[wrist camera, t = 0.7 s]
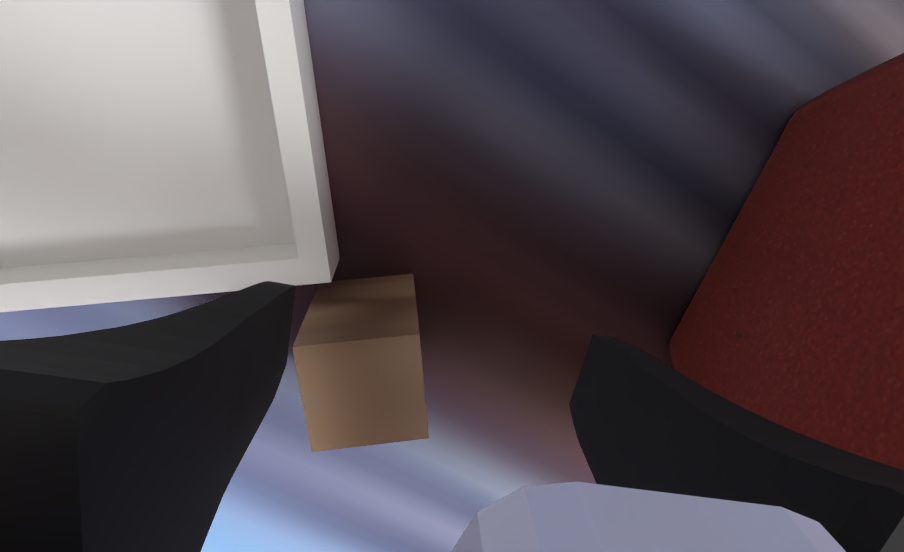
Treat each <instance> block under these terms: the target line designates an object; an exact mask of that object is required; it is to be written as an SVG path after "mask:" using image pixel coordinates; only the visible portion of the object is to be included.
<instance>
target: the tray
mask: <svg viewBox="0 0 904 552" xmlns="http://www.w3.org/2000/svg"><path fill="white" fill-rule="evenodd" d="M339 259H340V255H339V248H338V241H337V234H336V227H335V220H334V213H333V205H332V198H331V191H330V184H329V177H328V170H327V163H326V156H325V149H324V142H323V135H322V128H321V120H320V113H319V106H318V99H317V92H316V85H315V78H314V71H313V64H312V57H311V50H310V42H309V35H308V28H307V21H306V14H305V7H304V0H0V312H10V311H21V310H32V309H43V308H54V307H65V306H76V305H87V304H98V303H109V302H120V301H131V300H142V299H153V298H164V297H175V296H186V295H197V294H208V293H219V292H230V291H239V290H242V289H244V288H247V287H250V286H252V285H255V284H258V283H261V282H265V281H271V282H277V283H283V284H289V285H295V286H296V285H307V284H318V283H329V282H332V279H333V276H334V273H335V270H336V268H337V265H338V262H339Z"/></svg>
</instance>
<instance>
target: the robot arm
mask: <svg viewBox="0 0 904 552" xmlns="http://www.w3.org/2000/svg"><path fill="white" fill-rule="evenodd" d="M294 291H295V285H289V284H283V283H277V282H271V281H265V282H261V283H258V284H255V285H252V286H250V287H247V288H244V289H242V290H239V291H237V292H234V293H232V294H229V295H226V296H224V297H221V298H219V299H216V300H214V301H211V302H208V303H205V304H202V305H199V306H196V307H193V308H190V309H187V310H184V311H181V312H178V313H175V314H171V315H168V316H164V317H161V318H157V319H153V320H149V321H144V322H140V323H136V324H131V325H127V326H122V327H117V328H110V329H104V330H97V331H91V332H84V333H78V334H71V335H64V336H55V337H45V338H35V339H23V340H8V341H0V552H200V551H201V549H202V546H203V544H204V541H205V539H206V536H207V534H208V531H209V529H210V526H211V524H212V521H213V519H214V516H215V514H216V511H217V509H218V506H219V504H220V502H221V499H222V497H223V494H224V492H225V490H226V488H227V486H228V484H229V482H230V480H231V478H232V476H233V474H234V472H235V470H236V468H237V466H238V465H239V463H240V461H241V459H242V457H243V455H244V454H245V452H246V450H247V448H248V446H249V444H250V442H251V441H252V439H253V437H254V435H255V433H256V431H257V429H258V428H259V426H260V424H261V422H262V420H263V418H264V416H265V414H266V412H267V411H268V409H269V407H270V405H271V403H272V401H273V399H274V397H275V394H276V391H277V389H278V386H279V383H280V381H281V378H282V375H283V372H284V369H285V366H286V364H287V355H288V346H289V337H290V327H291V318H292V309H293V300H294ZM569 406H570V410H571V414H572V419H573V423H574V427H575V430H576V434H577V437H578V440H579V443H580V445H581V448H582V450H583V453H584V455H585V457H586V460H587V462H588V465H589V467H590V469H591V471H592V474H593V476H594V478H595V481H596V483H597V484H592V483H584V482H567V483H556V484H545V485H535V486H524V487H522V488H520V489H518V490H516V491H514V492H513V493H511V494H509V495H507V496H505V497H504V498H502V499H500V500H498V501H496V502H494V503H493V504H491V505H489V506H487V507H485V508H483V509H482V510H480V511H478V512H477V513H476V515H475V516H474V518H473V519H472V521H471V522H470V524H469V525H468V527H467V528H466V530H465V531H464V533H463V534H462V536H461V537H460V539H459V540H458V542H457V543H456V545H455V546H454V548H453V551H452V552H904V470H902V469H899V468H896V467H893V466H890V465H887V464H883V463H880V462H877V461H874V460H871V459H868V458H865V457H862V456H859V455H856V454H853V453H850V452H848V451H845V450H842V449H839V448H836V447H834V446H831V445H828V444H826V443H823V442H821V441H818V440H816V439H813V438H811V437H808V436H805V435H803V434H800V433H798V432H795V431H793V430H791V429H788V428H786V427H784V426H781V425H779V424H777V423H775V422H772V421H770V420H768V419H766V418H764V417H762V416H760V415H757V414H755V413H753V412H751V411H749V410H747V409H745V408H743V407H741V406H739V405H737V404H735V403H733V402H731V401H729V400H727V399H725V398H724V397H722V396H720V395H718V394H716V393H714V392H713V391H711V390H709V389H707V388H705V387H703V386H702V385H700V384H698V383H696V382H695V381H693V380H691V379H690V378H688V377H686V376H684V375H683V374H681V373H679V372H678V371H676V370H674V369H673V368H671V367H669V366H668V365H666V364H664V363H663V362H661V361H659V360H657V359H656V358H654V357H652V356H651V355H649V354H647V353H645V352H644V351H642V350H640V349H638V348H636V347H634V346H633V345H631V344H629V343H626V342H624V341H622V340H619V339H616V338H610V337H604V336H598V335H593V336H592V339H591V342H590V345H589V348H588V351H587V354H586V356H585V359H584V362H583V365H582V368H581V371H580V374H579V377H578V380H577V383H576V386H575V389H574V392H573V395H572V398H571V400H570V403H569Z"/></svg>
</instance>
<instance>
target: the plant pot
mask: <svg viewBox="0 0 904 552" xmlns="http://www.w3.org/2000/svg"><path fill="white" fill-rule="evenodd" d="M669 355H670V359H671V364H672V368H673V369H674V370H676V371H678V372H679V373H681V374H683V375H684V376H686V377H688V378H690V379H691V380H693V381H695V382H696V383H698V384H700V385H702V386H703V387H705V388H707V389H709V390H711V391H713V392H714V393H716V394H718V395H720V396H722V397H724V398H725V399H727V400H729V401H731V402H733V403H735V404H737V405H739V406H741V407H743V408H745V409H747V410H749V411H751V412H753V413H755V414H757V415H760V416H762V417H764V418H766V419H768V420H770V421H772V422H775V423H777V424H779V425H781V426H784V427H786V428H788V429H791V430H793V431H795V432H798V433H800V434H803V435H805V436H808V437H811V438H813V439H816V440H818V441H821V442H823V443H826V444H828V445H831V446H834V447H836V448H839V449H842V450H845V451H848V452H850V453H853V454H856V455H859V456H862V457H865V458H868V459H871V460H874V461H877V462H880V463H883V464H887V465H890V466H893V467H896V468H899V469H902V470H904V53H903V54H901V55H899V56H897V57H894V58H892V59H890V60H888V61H886V62H884V63H882V64H880V65H878V66H876V67H874V68H872V69H870V70H867V71H865V72H863V73H861V74H859V75H857V76H855V77H853V78H851V79H849V80H847V81H845V82H843V83H841V84H839V85H837V86H835V87H833V88H832V89H830V90H828V91H826V92H824V93H823V94H821V95H819V96H817V97H815V98H814V99H812V100H810V101H808V102H807V103H805V104H804V105H802V106H801V107H800V108H799V109H798V110H797V111H796V112H795V113H794V114H793V116H792V117H791V119H790V120H789V122H788V124H787V126H786V127H785V129H784V131H783V133H782V135H781V137H780V139H779V141H778V143H777V145H776V147H775V148H774V150H773V152H772V154H771V156H770V158H769V159H768V161H767V163H766V165H765V167H764V168H763V170H762V172H761V174H760V176H759V178H758V179H757V181H756V183H755V185H754V187H753V189H752V191H751V192H750V194H749V196H748V198H747V200H746V202H745V203H744V205H743V207H742V209H741V211H740V213H739V214H738V216H737V218H736V220H735V222H734V224H733V226H732V227H731V229H730V231H729V233H728V235H727V237H726V238H725V240H724V242H723V244H722V246H721V248H720V249H719V251H718V253H717V255H716V257H715V259H714V260H713V262H712V264H711V266H710V268H709V270H708V272H707V273H706V275H705V277H704V279H703V281H702V283H701V284H700V286H699V288H698V290H697V292H696V294H695V295H694V297H693V299H692V301H691V303H690V305H689V306H688V308H687V310H686V312H685V314H684V315H683V317H682V319H681V321H680V323H679V325H678V327H677V328H676V330H675V332H674V334H673V336H672V338H671V341H670V344H669Z"/></svg>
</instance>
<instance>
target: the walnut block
mask: <svg viewBox="0 0 904 552" xmlns="http://www.w3.org/2000/svg"><path fill="white" fill-rule="evenodd" d="M292 349H293V354H294V359H295V365H296V370H297V375H298V381H299V386H300V392H301V397H302V402H303V408H304V413H305V418H306V424H307V429H308V434H309V440H310V445H311V451H312V452H315V451H324V450H332V449H341V448H349V447H358V446H366V445H375V444H383V443H392V442H400V441H409V440H417V439H426V438H429V434H428V423H427V412H426V400H425V389H424V378H423V367H422V356H421V345H420V334H419V324H418V314H417V305H416V295H415V286H414V276H413V274H404V275H393V276H382V277H371V278H360V279H349V280H338V281H332V282H329V283H319V285H318V287H317V289H316V292H315V294H314V296H313V299H312V301H311V304H310V306H309V308H308V311H307V313H306V315H305V318H304V320H303V323H302V325H301V327H300V330H299V332H298V334H297V337H296V339H295V342H294V344H293V346H292Z"/></svg>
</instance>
